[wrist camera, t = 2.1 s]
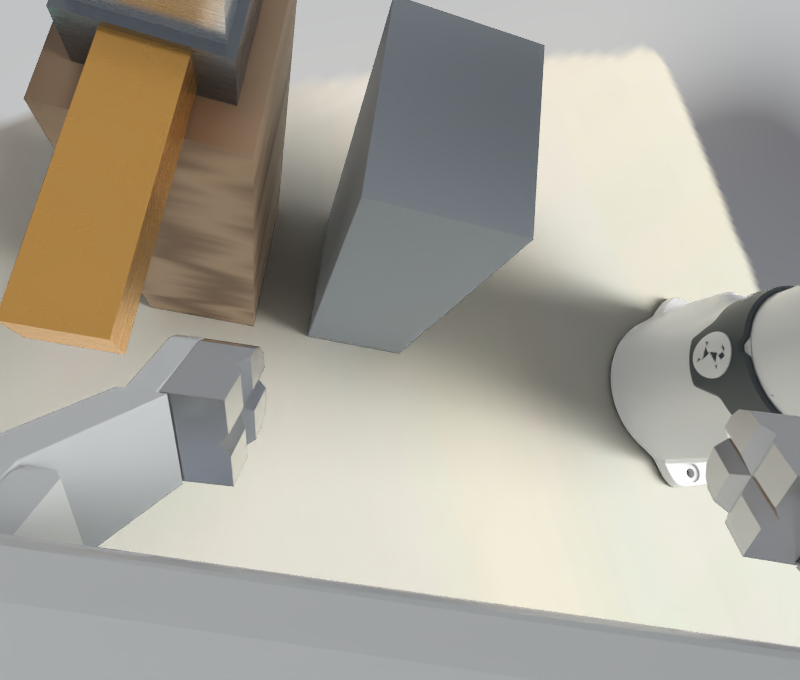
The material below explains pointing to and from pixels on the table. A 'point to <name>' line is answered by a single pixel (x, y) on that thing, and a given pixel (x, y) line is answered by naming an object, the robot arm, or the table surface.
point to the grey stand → (430, 178)
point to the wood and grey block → (119, 158)
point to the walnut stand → (207, 176)
